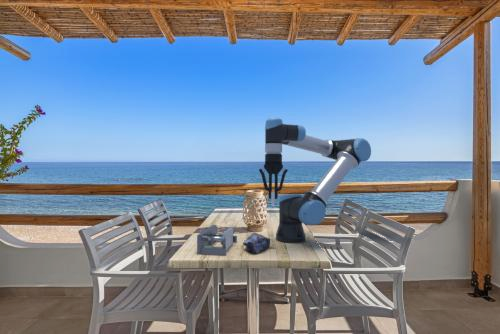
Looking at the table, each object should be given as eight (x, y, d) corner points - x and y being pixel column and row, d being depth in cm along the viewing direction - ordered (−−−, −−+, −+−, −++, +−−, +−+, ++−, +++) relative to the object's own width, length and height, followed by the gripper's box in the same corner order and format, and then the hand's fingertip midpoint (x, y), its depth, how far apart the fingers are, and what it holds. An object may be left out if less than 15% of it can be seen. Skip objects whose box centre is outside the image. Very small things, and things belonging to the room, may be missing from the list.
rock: (256, 252, 122) (262, 229, 125) (235, 247, 126) (242, 225, 130) (267, 259, 133) (272, 237, 137) (247, 254, 138) (253, 233, 141)
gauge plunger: (234, 241, 145) (234, 225, 144) (223, 254, 124) (223, 235, 124) (211, 240, 147) (211, 224, 147) (196, 252, 126) (196, 234, 126)
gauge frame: (236, 241, 145) (237, 225, 145) (225, 255, 123) (225, 236, 123) (212, 240, 147) (212, 224, 147) (197, 254, 125) (197, 235, 125)
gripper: (288, 153, 133) (288, 205, 133) (260, 153, 135) (259, 204, 135) (287, 153, 126) (287, 208, 126) (257, 153, 128) (257, 207, 128)
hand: (273, 206), depth 131 cm, fingers closed
